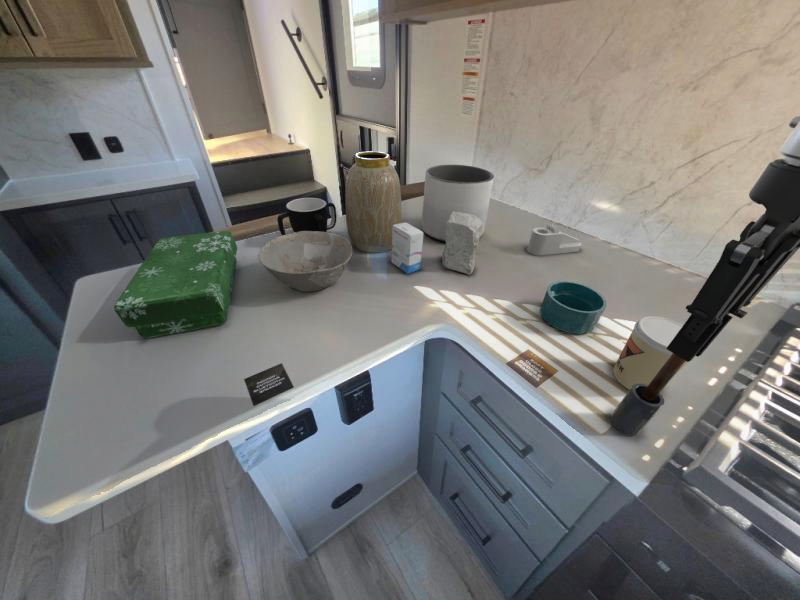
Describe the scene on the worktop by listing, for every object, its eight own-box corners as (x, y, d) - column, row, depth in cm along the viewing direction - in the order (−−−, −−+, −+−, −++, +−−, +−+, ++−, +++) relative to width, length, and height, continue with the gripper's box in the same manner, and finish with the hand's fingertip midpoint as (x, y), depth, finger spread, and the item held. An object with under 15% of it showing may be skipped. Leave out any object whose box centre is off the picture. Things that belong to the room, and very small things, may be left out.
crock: (644, 429, 52) (670, 400, 47) (628, 440, 50) (653, 410, 46) (620, 409, 55) (643, 379, 50) (604, 419, 53) (625, 389, 49)
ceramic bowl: (337, 315, 74) (333, 279, 68) (249, 300, 77) (237, 264, 71) (366, 268, 91) (364, 236, 85) (293, 257, 95) (286, 226, 89)
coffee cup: (611, 353, 66) (639, 308, 59) (665, 374, 61) (702, 328, 54) (604, 382, 60) (634, 335, 52) (663, 408, 55) (705, 361, 48)
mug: (300, 227, 112) (294, 193, 105) (343, 231, 110) (340, 197, 103) (277, 247, 100) (268, 210, 92) (325, 253, 97) (320, 216, 90)
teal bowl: (606, 326, 73) (618, 304, 69) (569, 341, 68) (580, 319, 64) (563, 297, 81) (572, 276, 78) (528, 309, 77) (535, 288, 73)
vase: (406, 253, 99) (410, 161, 83) (351, 258, 95) (343, 163, 79) (394, 230, 112) (395, 148, 96) (345, 234, 109) (338, 149, 92)
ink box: (421, 269, 91) (424, 231, 84) (407, 274, 89) (409, 235, 82) (404, 257, 96) (405, 220, 89) (390, 262, 94) (391, 224, 87)
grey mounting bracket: (582, 251, 103) (591, 228, 98) (533, 256, 99) (540, 232, 95) (571, 243, 107) (579, 221, 102) (523, 247, 104) (530, 224, 99)
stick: (655, 400, 48) (742, 294, 36) (648, 404, 47) (734, 297, 35) (644, 392, 49) (725, 287, 37) (638, 396, 48) (718, 290, 37)
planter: (413, 239, 107) (417, 178, 95) (429, 215, 124) (433, 161, 112) (479, 250, 102) (491, 186, 90) (486, 224, 119) (497, 168, 107)
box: (231, 329, 69) (216, 291, 63) (133, 345, 64) (108, 306, 58) (243, 260, 93) (233, 228, 87) (172, 268, 88) (157, 235, 82)
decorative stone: (436, 270, 91) (442, 222, 82) (442, 255, 98) (448, 210, 89) (472, 276, 89) (481, 227, 80) (476, 261, 96) (485, 215, 87)
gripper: (807, 150, 33) (683, 320, 47) (739, 161, 28) (621, 349, 42) (922, 167, 28) (744, 354, 42) (865, 184, 23) (682, 391, 37)
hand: (683, 351), depth 42 cm, fingers closed on stick, 1 cm apart
